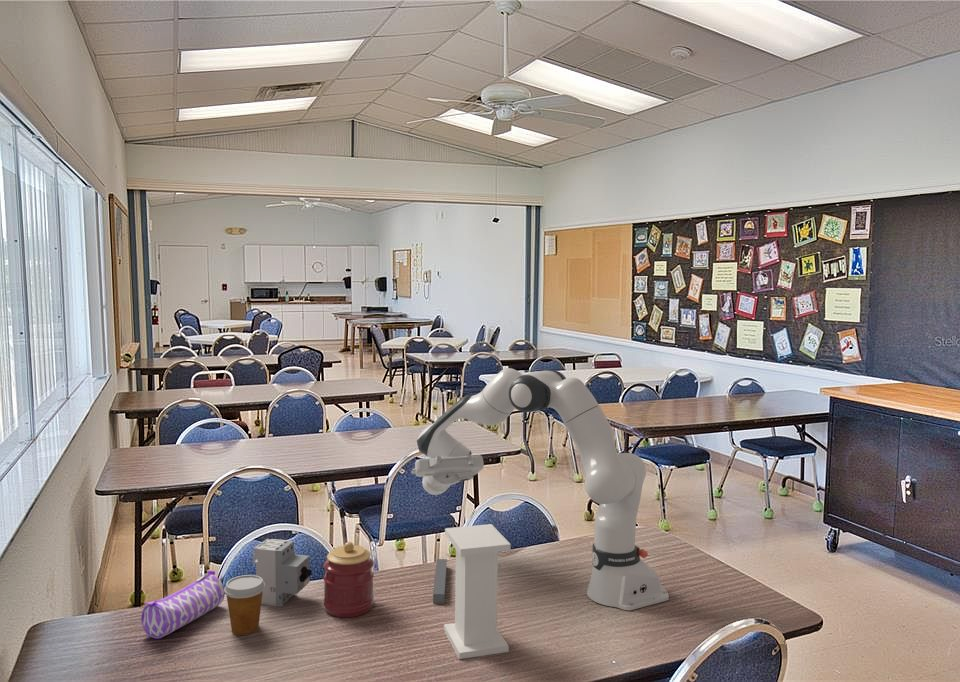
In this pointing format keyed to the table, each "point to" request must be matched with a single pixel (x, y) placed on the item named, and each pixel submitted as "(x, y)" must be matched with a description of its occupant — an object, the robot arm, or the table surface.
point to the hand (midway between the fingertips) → (454, 458)
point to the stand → (476, 591)
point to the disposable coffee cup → (244, 603)
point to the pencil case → (182, 606)
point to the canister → (348, 581)
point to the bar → (440, 581)
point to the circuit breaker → (280, 570)
